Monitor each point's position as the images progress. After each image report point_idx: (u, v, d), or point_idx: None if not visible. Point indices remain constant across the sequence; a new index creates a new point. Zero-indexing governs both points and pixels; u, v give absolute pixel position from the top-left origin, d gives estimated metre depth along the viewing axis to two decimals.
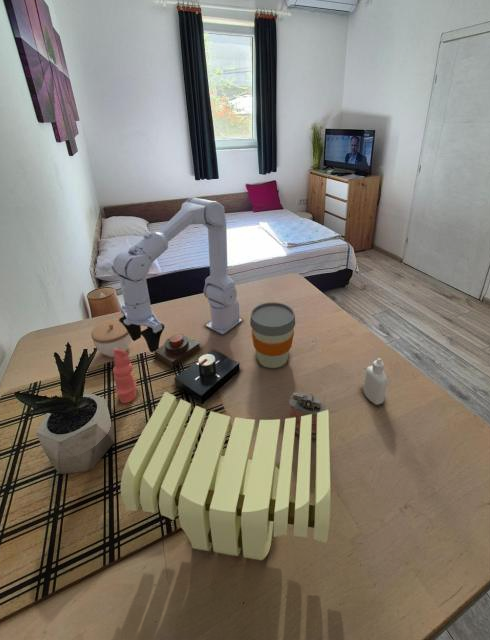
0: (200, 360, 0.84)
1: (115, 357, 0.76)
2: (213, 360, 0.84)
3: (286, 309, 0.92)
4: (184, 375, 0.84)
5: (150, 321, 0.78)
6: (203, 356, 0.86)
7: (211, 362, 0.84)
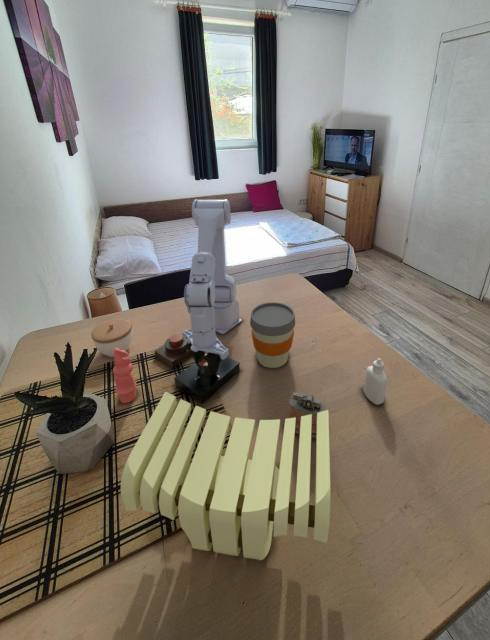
0: (200, 360, 0.84)
1: (115, 357, 0.76)
2: None
3: (286, 309, 0.92)
4: (184, 375, 0.84)
5: (217, 348, 0.79)
6: (203, 356, 0.86)
7: None
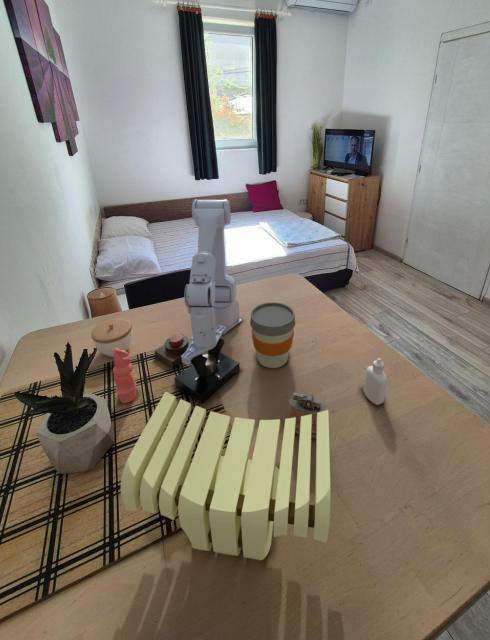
0: (205, 355, 0.86)
1: (115, 357, 0.76)
2: None
3: (286, 309, 0.92)
4: (184, 375, 0.84)
5: (191, 351, 0.79)
6: (211, 356, 0.86)
7: None
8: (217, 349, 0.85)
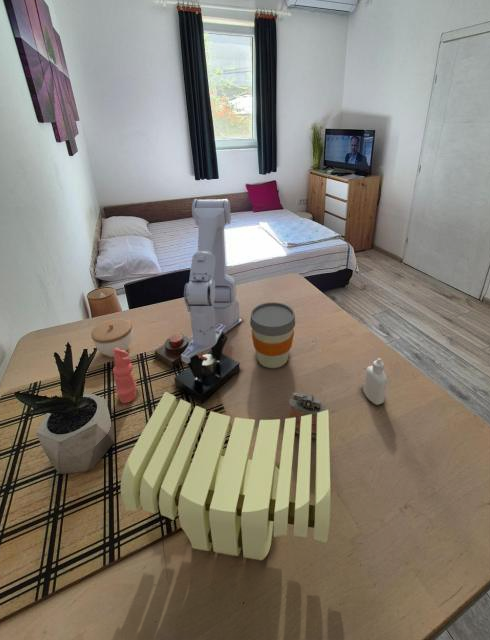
0: (205, 355, 0.86)
1: (115, 357, 0.76)
2: (204, 364, 0.83)
3: (286, 309, 0.92)
4: (184, 375, 0.84)
5: (191, 349, 0.78)
6: (211, 356, 0.86)
7: None
8: (220, 345, 0.85)
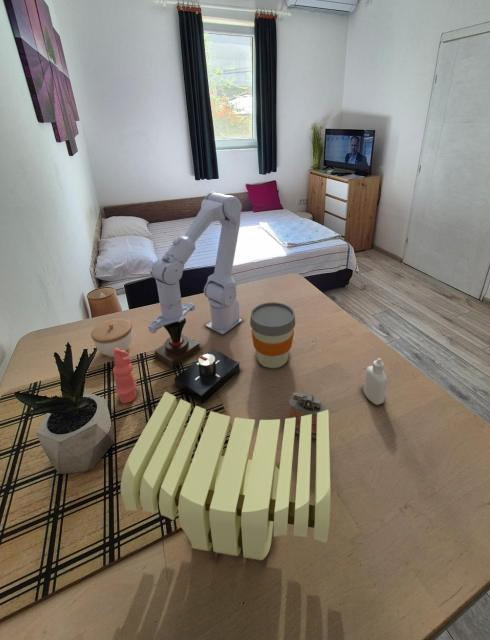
0: (205, 355, 0.86)
1: (115, 357, 0.76)
2: (204, 364, 0.83)
3: (286, 309, 0.92)
4: (184, 375, 0.84)
5: (185, 307, 0.95)
6: (211, 356, 0.86)
7: (201, 363, 0.83)
8: None
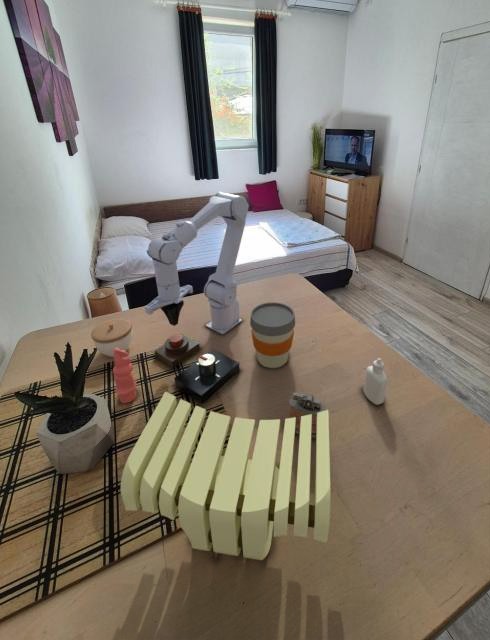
0: (205, 355, 0.86)
1: (115, 357, 0.76)
2: (204, 364, 0.83)
3: (286, 309, 0.92)
4: (184, 375, 0.84)
5: (183, 289, 0.92)
6: (211, 356, 0.86)
7: (201, 363, 0.83)
8: None
